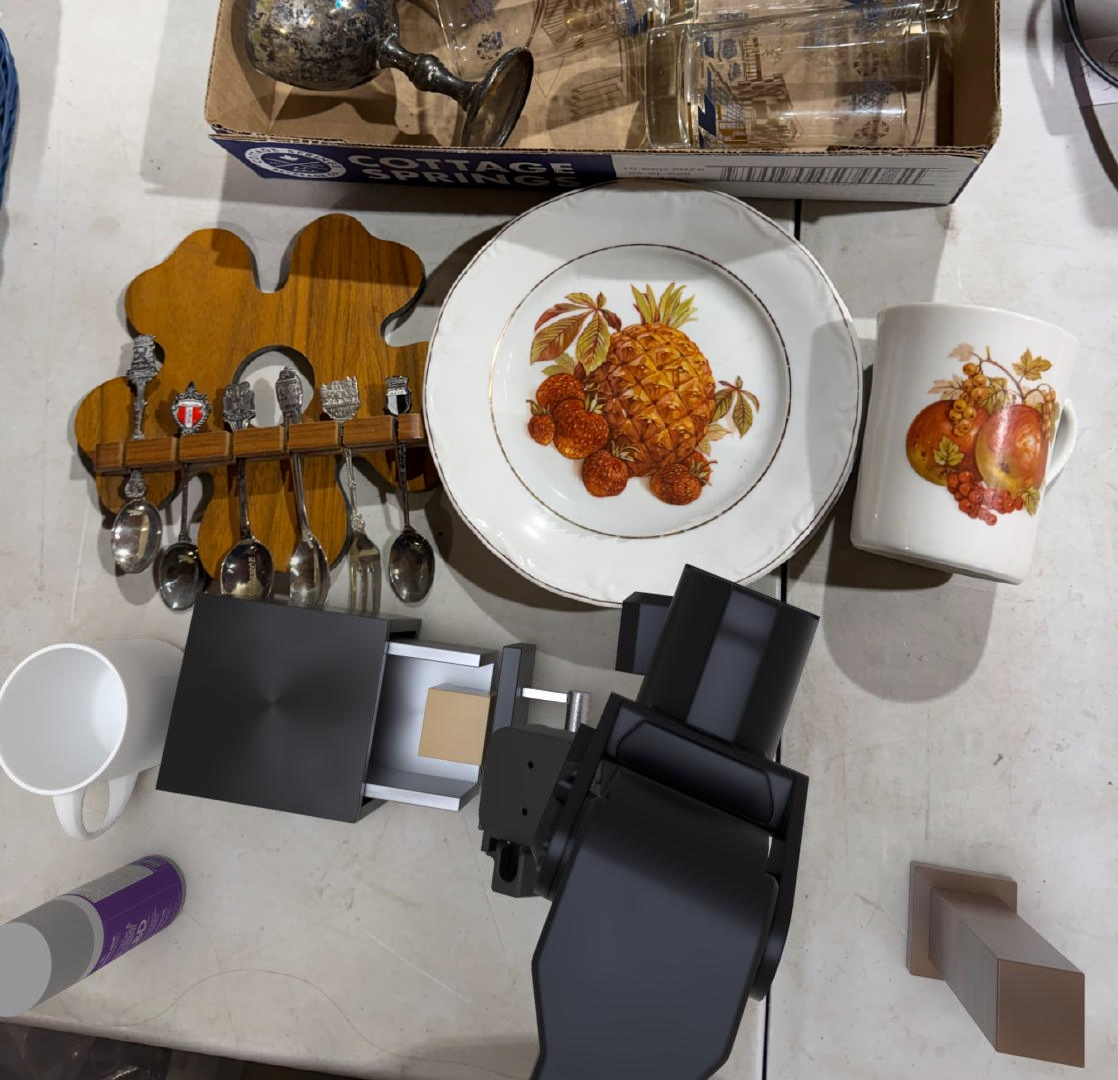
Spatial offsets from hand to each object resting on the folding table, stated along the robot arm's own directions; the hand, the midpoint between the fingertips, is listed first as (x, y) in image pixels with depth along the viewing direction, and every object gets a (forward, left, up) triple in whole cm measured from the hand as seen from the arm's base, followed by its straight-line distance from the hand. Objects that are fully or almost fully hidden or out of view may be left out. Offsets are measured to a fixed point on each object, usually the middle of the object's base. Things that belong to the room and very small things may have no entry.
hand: (667, 771), depth 57 cm
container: (-14, +33, -10) cm, 37 cm away
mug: (-4, +36, -10) cm, 38 cm away
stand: (-7, -19, -10) cm, 22 cm away
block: (0, +13, -6) cm, 15 cm away
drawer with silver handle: (0, +13, -9) cm, 16 cm away
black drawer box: (0, +24, -10) cm, 26 cm away
